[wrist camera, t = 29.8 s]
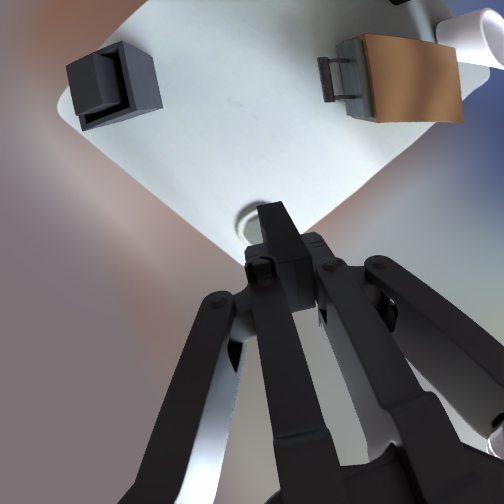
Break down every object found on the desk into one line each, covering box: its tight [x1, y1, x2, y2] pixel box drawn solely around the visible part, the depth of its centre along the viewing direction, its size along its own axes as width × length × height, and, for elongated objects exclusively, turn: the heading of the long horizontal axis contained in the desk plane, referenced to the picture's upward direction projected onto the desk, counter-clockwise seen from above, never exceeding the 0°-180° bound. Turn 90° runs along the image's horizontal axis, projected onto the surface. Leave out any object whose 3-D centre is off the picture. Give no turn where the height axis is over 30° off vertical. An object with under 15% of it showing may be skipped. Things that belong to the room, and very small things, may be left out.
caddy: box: [78, 41, 163, 131], centre depth 27 cm, size 6×8×12 cm
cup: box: [436, 8, 504, 69], centre depth 24 cm, size 10×10×13 cm
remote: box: [66, 53, 130, 116], centre depth 25 cm, size 3×5×16 cm, turn 10°
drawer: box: [317, 39, 373, 118], centre depth 30 cm, size 19×10×6 cm, turn 100°
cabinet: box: [341, 34, 463, 123], centre depth 30 cm, size 16×12×8 cm
